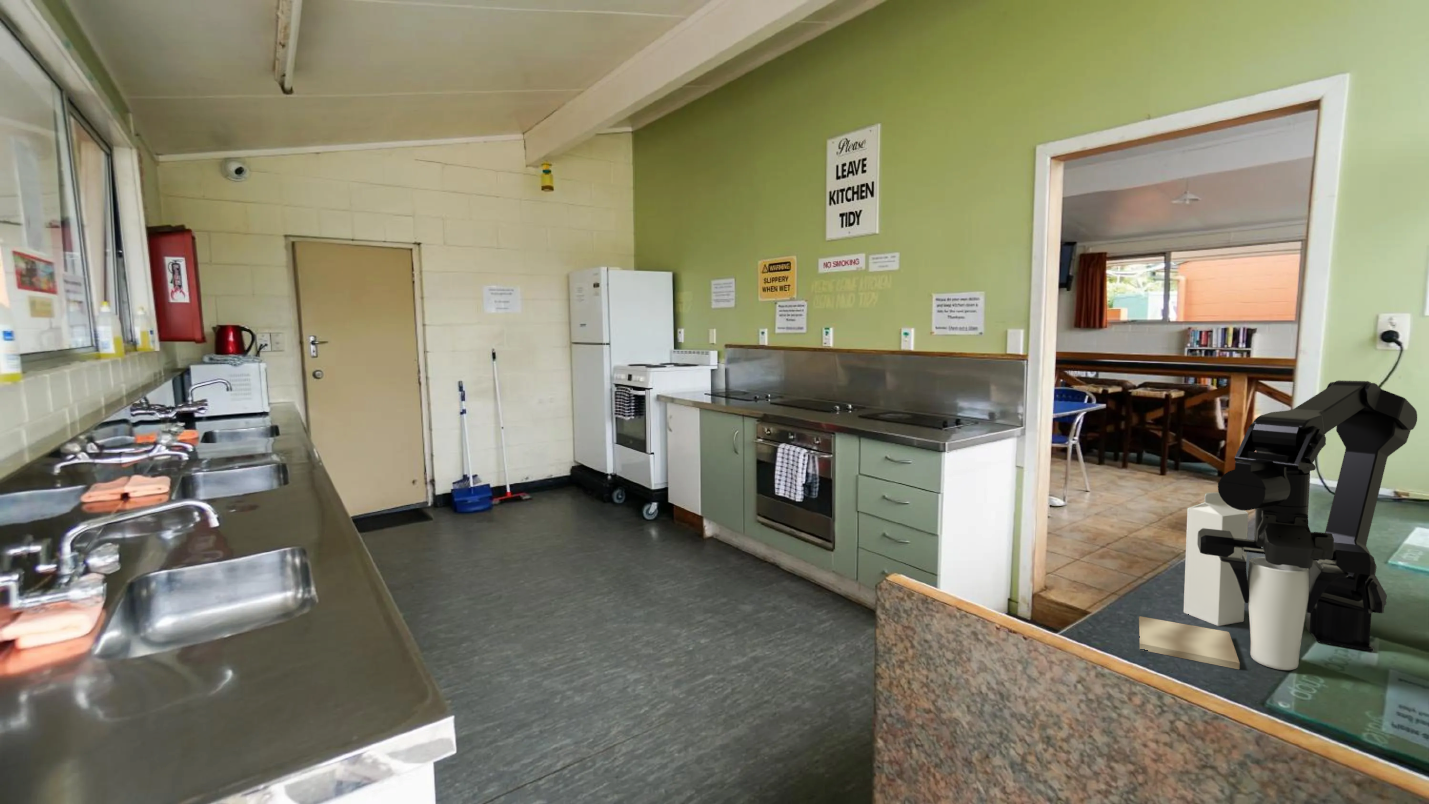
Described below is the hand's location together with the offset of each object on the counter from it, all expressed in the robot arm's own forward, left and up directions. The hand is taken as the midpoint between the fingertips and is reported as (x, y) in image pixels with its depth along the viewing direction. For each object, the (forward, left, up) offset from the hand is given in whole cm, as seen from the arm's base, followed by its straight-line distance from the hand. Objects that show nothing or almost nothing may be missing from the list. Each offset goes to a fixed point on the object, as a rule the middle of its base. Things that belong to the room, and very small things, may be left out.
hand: (1276, 607), depth 93 cm
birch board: (+11, -1, -8) cm, 14 cm away
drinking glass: (0, 0, -9) cm, 9 cm away
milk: (+6, -16, -9) cm, 19 cm away
